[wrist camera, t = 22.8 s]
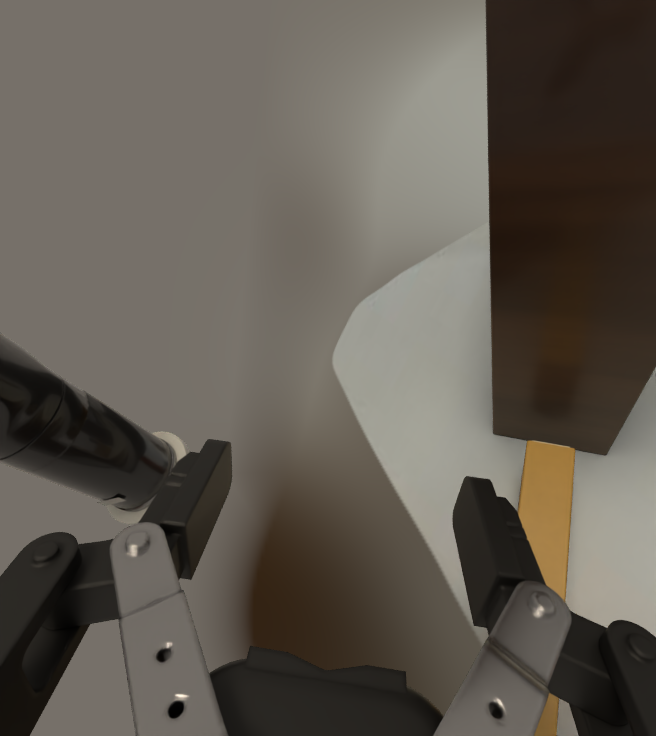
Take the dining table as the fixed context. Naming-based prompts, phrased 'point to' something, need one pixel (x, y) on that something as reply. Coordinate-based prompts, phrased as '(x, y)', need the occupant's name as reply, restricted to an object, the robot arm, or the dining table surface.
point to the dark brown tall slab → (571, 215)
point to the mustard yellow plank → (548, 528)
